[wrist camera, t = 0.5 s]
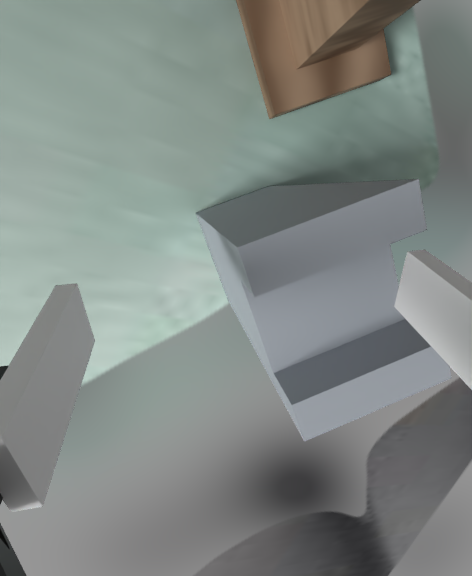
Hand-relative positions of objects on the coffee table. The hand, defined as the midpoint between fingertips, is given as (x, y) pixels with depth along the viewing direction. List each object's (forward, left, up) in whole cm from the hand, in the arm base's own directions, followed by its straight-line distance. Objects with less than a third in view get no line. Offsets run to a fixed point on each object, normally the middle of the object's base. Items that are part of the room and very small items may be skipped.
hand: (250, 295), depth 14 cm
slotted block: (+2, +5, -23) cm, 24 cm away
